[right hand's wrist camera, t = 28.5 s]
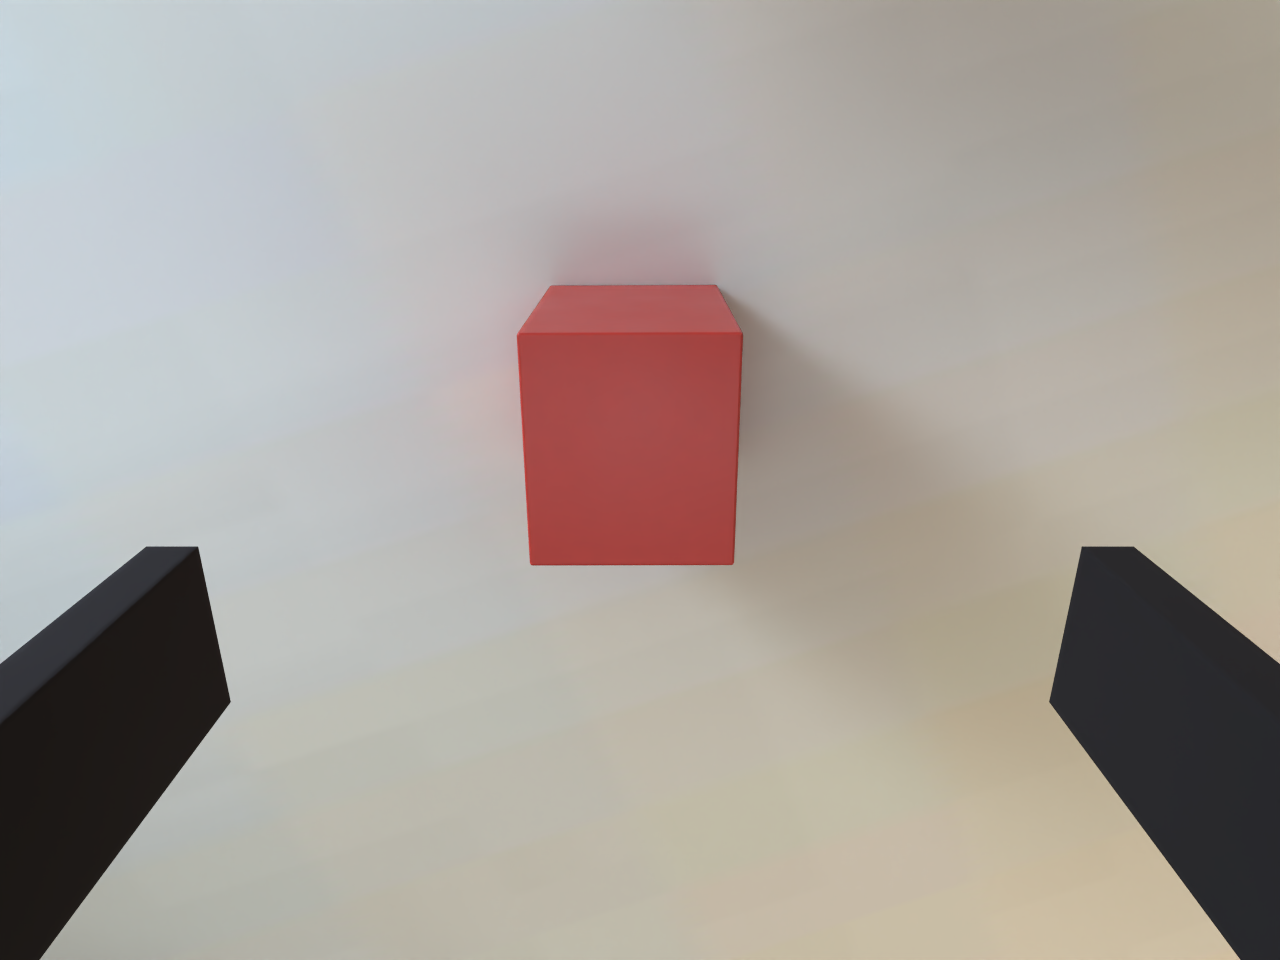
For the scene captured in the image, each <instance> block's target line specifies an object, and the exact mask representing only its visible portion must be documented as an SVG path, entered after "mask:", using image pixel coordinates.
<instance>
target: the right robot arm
mask: <svg viewBox="0 0 1280 960" xmlns="http://www.w3.org/2000/svg"><path fill="white" fill-rule="evenodd" d="M230 702H231V701H230V696H229V692H228V687H227V682H226V677H225V673H224V668H223V663H222V658H221V654H220V649H219V644H218V639H217V635H216V630H215V625H214V620H213V616H212V611H211V606H210V601H209V597H208V592H207V587H206V582H205V577H204V573H203V568H202V563H201V558H200V554H199V549H198V547H145V548H144V549H143V550H142V551H140V552H139V553H138V554H137V555H135V556H134V557H133V558H132V559H131V560H129V561H128V562H127V563H126V564H124V565H123V566H122V567H121V568H119V569H118V570H117V571H116V572H114V573H113V574H112V575H111V576H109V577H108V578H107V579H106V580H104V581H103V582H102V583H101V584H99V585H98V586H97V587H96V588H94V589H93V590H92V591H91V592H89V593H88V594H87V595H86V596H84V597H83V598H82V599H81V600H79V601H78V602H77V603H76V604H74V605H73V606H72V607H71V608H69V609H68V610H67V611H66V612H65V613H63V614H62V615H61V616H60V617H58V618H57V619H56V620H55V621H53V622H52V623H51V624H50V625H48V626H47V627H46V628H45V629H43V630H42V631H41V632H40V633H38V634H37V635H36V636H35V637H33V638H32V639H31V640H30V641H28V642H27V643H26V644H25V645H23V646H22V647H21V648H20V649H18V650H17V651H16V652H15V653H13V654H12V655H11V656H10V657H8V658H7V659H6V660H5V661H3V662H2V663H1V664H0V960H40V958H41V957H42V956H43V954H44V953H45V952H46V950H47V949H48V948H49V946H50V945H51V943H52V942H53V941H54V939H55V938H56V937H57V935H58V934H59V933H60V931H61V930H62V929H63V927H64V926H65V925H66V923H67V922H68V921H69V919H70V918H71V917H72V915H73V914H74V912H75V911H76V910H77V908H78V907H79V906H80V904H81V903H82V902H83V900H84V899H85V898H86V896H87V895H88V894H89V892H90V891H91V890H92V888H93V887H94V886H95V884H96V883H97V881H98V880H99V879H100V877H101V876H102V875H103V873H104V872H105V871H106V869H107V868H108V867H109V865H110V864H111V863H112V861H113V860H114V859H115V857H116V856H117V855H118V853H119V852H120V850H121V849H122V848H123V846H124V845H125V844H126V842H127V841H128V840H129V838H130V837H131V836H132V834H133V833H134V832H135V830H136V829H137V828H138V826H139V825H140V824H141V822H142V821H143V819H144V818H145V817H146V815H147V814H148V813H149V811H150V810H151V809H152V807H153V806H154V805H155V803H156V802H157V801H158V799H159V798H160V797H161V795H162V794H163V793H164V791H165V790H166V788H167V787H168V786H169V784H170V783H171V782H172V780H173V779H174V778H175V776H176V775H177V774H178V772H179V771H180V770H181V768H182V767H183V766H184V764H185V763H186V762H187V760H188V759H189V757H190V756H191V755H192V753H193V752H194V751H195V749H196V748H197V747H198V745H199V744H200V743H201V741H202V740H203V739H204V737H205V736H206V735H207V733H208V732H209V731H210V729H211V728H212V726H213V725H214V724H215V722H216V721H217V720H218V718H219V717H220V716H221V714H222V713H223V712H224V710H225V709H226V708H227V706H228V705H229V704H230ZM1049 702H1050V704H1051V705H1052V706H1053V708H1054V709H1055V710H1056V712H1057V713H1058V714H1059V716H1060V717H1061V718H1062V720H1063V721H1064V722H1065V724H1066V725H1067V726H1068V728H1069V729H1070V731H1071V732H1072V733H1073V735H1074V736H1075V737H1076V739H1077V740H1078V741H1079V743H1080V744H1081V745H1082V747H1083V748H1084V749H1085V751H1086V752H1087V753H1088V755H1089V756H1090V757H1091V759H1092V760H1093V762H1094V763H1095V764H1096V766H1097V767H1098V768H1099V770H1100V771H1101V772H1102V774H1103V775H1104V776H1105V778H1106V779H1107V780H1108V782H1109V783H1110V784H1111V786H1112V787H1113V788H1114V790H1115V791H1116V793H1117V794H1118V795H1119V797H1120V798H1121V799H1122V801H1123V802H1124V803H1125V805H1126V806H1127V807H1128V809H1129V810H1130V811H1131V813H1132V814H1133V815H1134V817H1135V818H1136V819H1137V821H1138V822H1139V824H1140V825H1141V826H1142V828H1143V829H1144V830H1145V832H1146V833H1147V834H1148V836H1149V837H1150V838H1151V840H1152V841H1153V842H1154V844H1155V845H1156V846H1157V848H1158V849H1159V850H1160V852H1161V853H1162V855H1163V856H1164V857H1165V859H1166V860H1167V861H1168V863H1169V864H1170V865H1171V867H1172V868H1173V869H1174V871H1175V872H1176V873H1177V875H1178V876H1179V877H1180V879H1181V880H1182V881H1183V883H1184V884H1185V886H1186V887H1187V888H1188V890H1189V891H1190V892H1191V894H1192V895H1193V896H1194V898H1195V899H1196V900H1197V902H1198V903H1199V904H1200V906H1201V907H1202V908H1203V910H1204V911H1205V912H1206V914H1207V915H1208V917H1209V918H1210V919H1211V921H1212V922H1213V923H1214V925H1215V926H1216V927H1217V929H1218V930H1219V931H1220V933H1221V934H1222V935H1223V937H1224V938H1225V939H1226V941H1227V942H1228V943H1229V945H1230V946H1231V948H1232V949H1233V950H1234V952H1235V953H1236V954H1237V956H1238V957H1239V958H1240V960H1280V664H1279V663H1278V662H1277V661H1275V660H1274V659H1273V658H1272V657H1270V656H1269V655H1268V654H1267V653H1265V652H1264V651H1263V650H1262V649H1260V648H1259V647H1258V646H1257V645H1255V644H1254V643H1253V642H1252V641H1250V640H1249V639H1248V638H1247V637H1245V636H1244V635H1243V634H1242V633H1240V632H1239V631H1238V630H1237V629H1235V628H1234V627H1233V626H1232V625H1230V624H1229V623H1228V622H1227V621H1225V620H1224V619H1223V618H1222V617H1220V616H1219V615H1218V614H1217V613H1215V612H1214V611H1213V610H1212V609H1211V608H1209V607H1208V606H1207V605H1206V604H1204V603H1203V602H1202V601H1201V600H1199V599H1198V598H1197V597H1196V596H1194V595H1193V594H1192V593H1191V592H1189V591H1188V590H1187V589H1186V588H1184V587H1183V586H1182V585H1181V584H1179V583H1178V582H1177V581H1176V580H1174V579H1173V578H1172V577H1171V576H1169V575H1168V574H1167V573H1166V572H1164V571H1163V570H1162V569H1161V568H1159V567H1158V566H1157V565H1156V564H1154V563H1153V562H1152V561H1151V560H1149V559H1148V558H1147V557H1146V556H1145V555H1143V554H1142V553H1141V552H1140V551H1138V550H1137V549H1136V548H1135V547H1082V549H1081V554H1080V558H1079V563H1078V568H1077V573H1076V577H1075V582H1074V587H1073V592H1072V597H1071V601H1070V606H1069V611H1068V616H1067V620H1066V625H1065V630H1064V635H1063V639H1062V644H1061V649H1060V654H1059V658H1058V663H1057V668H1056V673H1055V677H1054V682H1053V687H1052V692H1051V696H1050V701H1049Z"/></svg>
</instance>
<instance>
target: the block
mask: <svg viewBox="0 0 1280 960" xmlns="http://www.w3.org/2000/svg"><path fill="white" fill-rule="evenodd" d="M517 347H518V364H519V381H520V399H521V416H522V433H523V451H524V468H525V485H526V503H527V520H528V537H529V555H530V564H531V565H733V563H734V550H735V525H736V500H737V475H738V450H739V425H740V400H741V375H742V350H743V333H742V331H741V329H740V327H739V326H738V324H737V322H736V320H735V318H734V316H733V314H732V313H731V311H730V309H729V307H728V305H727V303H726V301H725V300H724V298H723V296H722V294H721V292H720V290H719V289H718V287H717V286H716V285H614V286H550V287H549V289H548V290H547V292H546V293H545V295H544V296H543V298H542V299H541V300H540V302H539V303H538V305H537V306H536V308H535V309H534V311H533V312H532V313H531V315H530V316H529V318H528V319H527V321H526V322H525V323H524V325H523V326H522V328H521V329H520V331H519V332H518V334H517Z"/></svg>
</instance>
